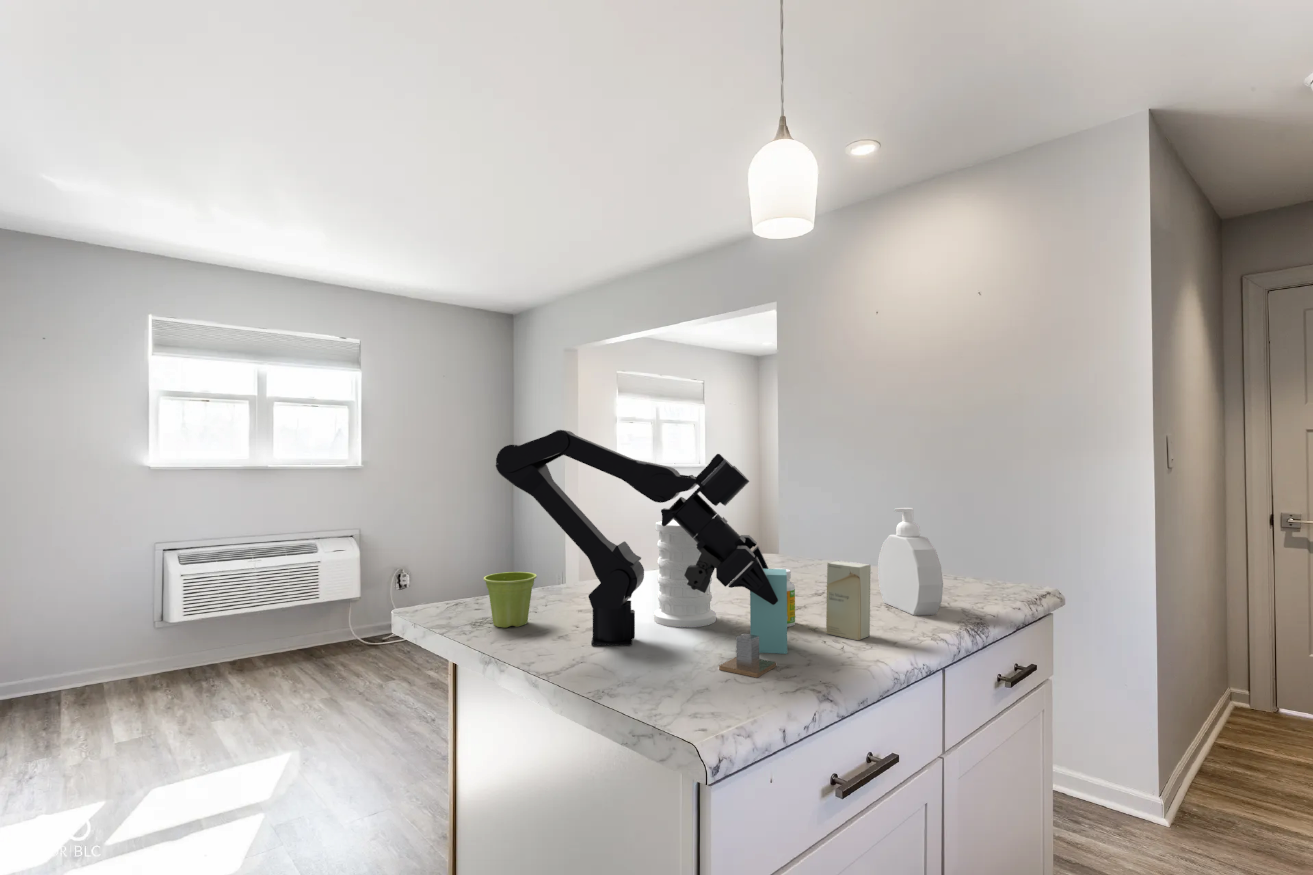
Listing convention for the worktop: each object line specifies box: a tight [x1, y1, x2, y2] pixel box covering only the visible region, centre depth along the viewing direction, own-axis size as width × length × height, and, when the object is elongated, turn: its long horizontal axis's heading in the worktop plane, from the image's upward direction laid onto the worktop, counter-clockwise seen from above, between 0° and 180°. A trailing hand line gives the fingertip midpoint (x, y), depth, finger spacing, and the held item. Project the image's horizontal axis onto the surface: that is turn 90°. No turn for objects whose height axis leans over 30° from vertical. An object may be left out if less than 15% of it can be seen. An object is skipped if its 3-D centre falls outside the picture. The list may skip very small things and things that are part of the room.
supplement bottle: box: [775, 567, 796, 628], centre depth 121 cm, size 5×5×10 cm
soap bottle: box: [877, 507, 944, 616], centre depth 133 cm, size 16×5×20 cm, turn 10°
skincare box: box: [825, 560, 872, 641], centre depth 113 cm, size 6×4×12 cm
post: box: [718, 632, 777, 678], centre depth 96 cm, size 6×6×4 cm
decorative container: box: [653, 519, 717, 628], centre depth 125 cm, size 12×12×18 cm
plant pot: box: [483, 571, 538, 629], centre depth 121 cm, size 9×9×9 cm
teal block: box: [749, 568, 788, 655], centre depth 106 cm, size 6×6×12 cm
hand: (775, 596), depth 106 cm, fingers open, 9 cm apart
